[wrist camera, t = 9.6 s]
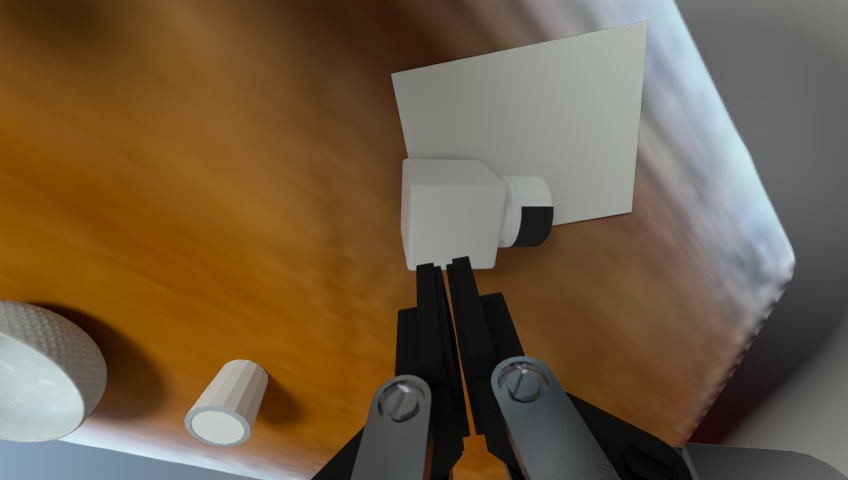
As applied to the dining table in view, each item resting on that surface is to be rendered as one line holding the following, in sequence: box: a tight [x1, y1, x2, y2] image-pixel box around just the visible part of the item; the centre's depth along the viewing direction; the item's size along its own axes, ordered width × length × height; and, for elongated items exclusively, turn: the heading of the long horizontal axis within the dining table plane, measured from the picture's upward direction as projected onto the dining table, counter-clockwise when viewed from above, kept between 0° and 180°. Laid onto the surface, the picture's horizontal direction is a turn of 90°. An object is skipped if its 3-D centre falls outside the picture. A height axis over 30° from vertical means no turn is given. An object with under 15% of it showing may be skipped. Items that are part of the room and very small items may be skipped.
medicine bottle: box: [401, 159, 554, 271], centre depth 30 cm, size 7×7×12 cm
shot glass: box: [184, 360, 268, 447], centre depth 42 cm, size 7×7×7 cm
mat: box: [391, 21, 648, 225], centre depth 32 cm, size 16×20×1 cm
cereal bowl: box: [0, 300, 107, 442], centre depth 38 cm, size 17×17×7 cm
